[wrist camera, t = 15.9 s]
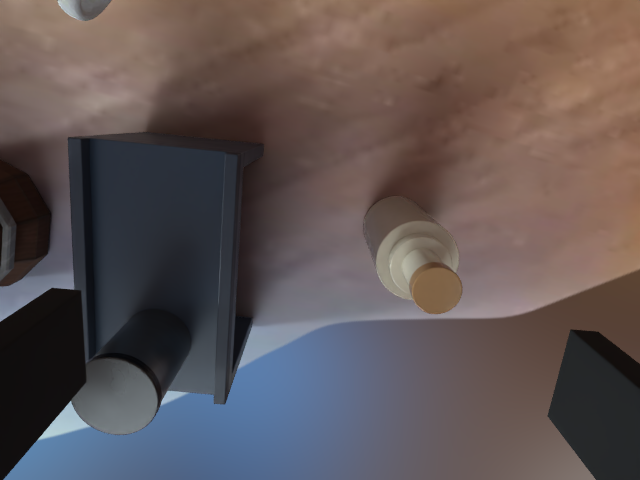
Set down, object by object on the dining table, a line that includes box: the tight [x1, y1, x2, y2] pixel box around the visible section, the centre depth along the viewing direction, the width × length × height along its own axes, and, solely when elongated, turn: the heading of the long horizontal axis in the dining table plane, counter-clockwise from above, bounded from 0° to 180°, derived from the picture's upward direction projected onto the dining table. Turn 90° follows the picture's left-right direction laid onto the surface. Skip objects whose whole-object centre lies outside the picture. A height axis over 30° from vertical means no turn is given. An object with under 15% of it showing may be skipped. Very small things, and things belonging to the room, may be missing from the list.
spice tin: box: [71, 309, 191, 435], centre depth 27 cm, size 5×5×7 cm
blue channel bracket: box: [68, 132, 264, 404], centre depth 34 cm, size 17×10×12 cm, turn 174°
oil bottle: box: [363, 196, 462, 314], centre depth 32 cm, size 6×6×15 cm
